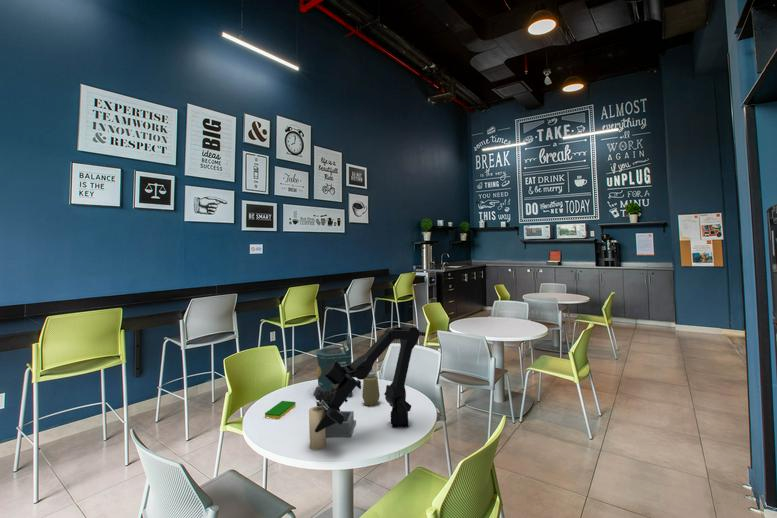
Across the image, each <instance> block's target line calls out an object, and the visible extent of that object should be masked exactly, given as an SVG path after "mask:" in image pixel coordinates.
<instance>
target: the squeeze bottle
mask: <svg viewBox="0 0 777 518" xmlns="http://www.w3.org/2000/svg"><path fill="white" fill-rule="evenodd" d="M378 379H379V378H378V376H377V375H376V371H374V369H373V368H372V370H371V371H370V373H369V374H368V376H367V377H366V378H365V379H362V380H363V382H362V395H361V396H362V399H363V402H364V405H365V406H370V407H371V406H372V407H374V406H376V405H378V403H379V399H380V396H381V395H380V386H379V380H378Z"/></svg>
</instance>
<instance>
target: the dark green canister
mask: <svg viewBox="0 0 777 518" xmlns="http://www.w3.org/2000/svg"><path fill="white" fill-rule="evenodd" d="M316 360H317V387H321V388H324V389H327V390H330V389H331V388H336V386H337V385H338V384H335V385H334V384H333V383H332V382H330V381H329V380H328V379H327V378H326V377H324V376H323V371H324V369H325V367H326V366H328V365H329V364H330V363H333V362H334V360H336V361H337V362H338V363H339V364H340V365H341V366H342V367H344V366H347V365H350V364H351V363H352V338H351V337H350V335H349V334H348V332H346V341H345V342H343V343H342V346H330V347H324V348H320V349H317V350H316ZM346 376H347V377H350V376H349V375H348V374H346ZM348 397H349V398H353V391H352V392H351V394H350V395H349V396H348Z"/></svg>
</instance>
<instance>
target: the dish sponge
mask: <svg viewBox="0 0 777 518" xmlns="http://www.w3.org/2000/svg"><path fill="white" fill-rule="evenodd" d="M296 405H297V404H296V401H290V400H289V401H287V400H281V401H280V402H278V403H277V404H276V405H273V407H271V408H270V409H269V410H267V411H266V412H264V418H265V417H269V418H268V419H270V418H275V419H274V420H281V419H282V418H283V417H284V416H286V415H287V414H288V413H290V410H291V409H292V410H293V409H294V408H296V407H295V406H296ZM292 410H291V411H292ZM286 413H287V414H286ZM285 414H286V415H285ZM282 416H283V417H282ZM281 417H282V418H281ZM280 418H281V419H280Z"/></svg>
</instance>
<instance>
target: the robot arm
mask: <svg viewBox="0 0 777 518" xmlns="http://www.w3.org/2000/svg"><path fill="white" fill-rule="evenodd" d="M420 332H421V331H420V330H419V328H418V327H415V326H413V325H409V324H404V325H402V326H396V327H387V328H386V329H385V330H384V332H383V333H382V334H381V336H380V337H379V338H378V339H377V340H376V341H375V342H374V343H373V344H372V346H370V348H369V349H368V350H367V351H366V352H365V353H364V354H363V355H360V356H359V357H356V359H355V360H354V361H351V364H350V365H347V366H344V367H342V366H341V365H340V364H339V363H338V362H337V361H336V360H334V362H333V363H330V364H329V365H328V366H326V367H325V369H324V371H323V376H324V377H326V378H327V379H328V380H329V381H330V382H332V383H333V384H334V385H335V384H338V385H337V386H336V388H331V389H330V390H327V389H324V388H321V387H318V386H316V387H315V389H314V392H313V397H314V398H315V399H316V401H315V403H316V406H322V407H324V408H325V411H323V418H322V419H321V421H320V422H319V424H318V426H317V427H316V429H315V432H319V431H321V430H323V429H325V428H326V427H328V426H330V425H333V424H335V423H336V424H337V423H339V424H340V425H341V424H342V423H343V422H344V416H343V415H342V413H340V412H339V411H341V409H340V408H341V406H342V405H343V404H344V403H348V400H349V399H348V398H347V397H348V396H349V395H350V394H351V392H352V393H353V391H354V389H355V388H356V387H357V388H358V390H361V389H362V381H361V380H364V379H365V378H366V377H367V376H368V374H369V373H370V371H371V370H372V369H373V367H374V364H375V362H376V361H377V360H378V358H379V357H380V356H381V355H382V354H383V353H384V352H385V351H386V349H388V347H389V346H390V345H391V344H392V343H393V342H394V340H399V345H400V347H399V352H398V357H397V361H396V366H395V371H394V374H393V375H394V376H393V380H392V382H391V383H390V385H389V384H386V385H385V386H386V387H385V392H384V396H385V397H384V398H385V401H386V402H387V403H388V405H389V406H390V407H391V411H390V424H391V428H409V420H410V419H409V412H411V409H412V404H410V403H409V402H408V401H407V400H406V398H407V392H406V385H405V384H406V380H407V376H408V372H409V367H410V361H411V356H412V353H413V350H414V348H415V346H416V345H417V343H418V342H419V339H420V337H421V336H420V335H421V333H420ZM346 374H348V375H349V376H350V377H347V376H346ZM355 378H356V379H355Z"/></svg>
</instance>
